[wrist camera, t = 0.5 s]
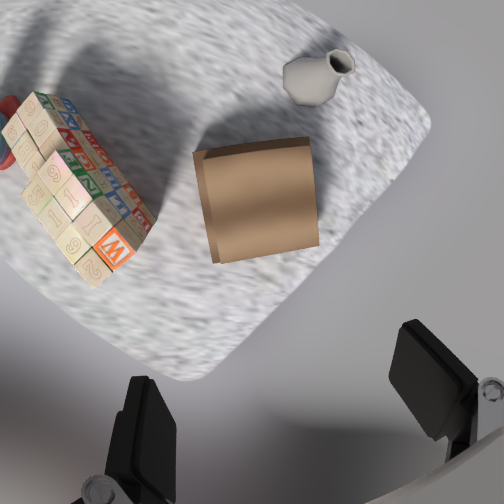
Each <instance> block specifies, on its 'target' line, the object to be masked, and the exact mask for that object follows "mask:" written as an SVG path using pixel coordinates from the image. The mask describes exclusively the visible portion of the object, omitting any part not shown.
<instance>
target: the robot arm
mask: <svg viewBox="0 0 504 504" xmlns="http://www.w3.org/2000/svg"><path fill="white" fill-rule="evenodd" d="M389 380H390V382H391V384H392V385H393V387H394V388H395V389H396V391H397V392H398V394H399V395H400V397H401V398H402V399H403V401H404V402H405V404H406V405H407V407H408V408H409V409H410V411H411V412H412V414H413V415H414V417H415V418H416V420H417V421H418V423H419V424H420V425H421V427H422V428H423V430H424V431H425V433H426V434H427V436H428V437H430V438H431V437H432V438H433V440H434V441H437V440H439V439H441V438H442V437H444V436H445V435H446V436H447V438H448V446H447V451H446V457H445V462H444V464H443V465H441V466H440V467H438V468H436V469H435V470H433V471H431V472H430V473H428V474H426V475H424V476H423V477H421V478H419V479H417V480H415V481H413V482H411V483H410V484H407V485H406V486H404V487H401V488H400V489H398V490H395V491H393V492H391V493H389V494H387V495H384V496H382V497H380V498H377V499H375V500H373V501H370V502H368V503H365V504H504V382H503V381H501V380H499V379H498V378H494V377H488V378H486V379H483V380H482V381H481V382H480V384H479V383H478V382H477V381H478V378H477V377H476V376H475V375H474V374H473V373H472V372H471V371H470V370H469V369H468V368H467V367H466V366H465V365H464V364H463V363H462V362H461V361H460V360H459V359H458V358H457V357H456V356H455V355H454V354H453V353H452V352H451V351H450V350H449V349H448V348H447V347H446V346H445V345H444V344H443V343H442V342H441V341H440V340H439V339H438V338H437V337H436V336H435V335H434V334H433V333H432V332H431V331H429V329H427V328H426V327H425V326H424V325H423V324H422V323H421V322H420V321H419V320H417V319H414V320H411V321H408V322H405V323H403V324H402V327H401V328H400V329H399V333H398V338H397V343H396V347H395V351H394V355H393V360H392V364H391V368H390V371H389ZM175 478H176V423H175V421H174V419H173V417H172V415H171V413H170V411H169V409H168V408H167V406H166V404H165V402H164V400H163V398H162V396H161V394H160V392H159V390H158V388H157V386H156V383H155V381H154V380H153V379H149V377H148V376H133V377H131V379H130V383H129V387H128V391H127V395H126V399H125V404H124V408H123V411H119V412H118V413H117V415H116V419H115V423H114V428H113V433H112V437H111V442H110V447H109V452H108V457H107V462H106V468H105V474H104V475H103V474H97V475H93V476H90V477H89V478H88V479H87V480H85V482H84V483H83V485H82V488H81V496H82V497H81V498H79V499H78V500H76V501H75V502H73V503H71V504H174V503H175V501H176V489H175V488H176V486H175V485H176V482H175V481H176V479H175Z"/></svg>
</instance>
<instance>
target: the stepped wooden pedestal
mask: <svg viewBox="0 0 504 504" xmlns="http://www.w3.org/2000/svg"><path fill="white" fill-rule="evenodd" d="M192 153H193V159H194V165H195V171H196V177H197V183H198V188H199V194H200V199H201V205H202V210H203V216H204V221H205V226H206V231H207V237H208V242H209V247H210V252H211V257H212V262H213V264H214V263H219V262H221V264H224V263H229V262H235V261H240V260H245V259H251V258H256V257H262V256H267V255H272V254H278V253H283V252H289V251H294V250H299V249H305V248H310V247H315V246H319V233H318V218H317V206H316V194H315V183H314V173H313V164H312V155H311V146H310V143H309V137H298V138H287V139H278V140H269V141H260V142H252V143H245V144H238V145H231V146H225V147H219V148H213V149H207V150H201V151H196V152H192Z"/></svg>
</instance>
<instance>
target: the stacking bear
mask: <svg viewBox="0 0 504 504" xmlns="http://www.w3.org/2000/svg"><path fill="white" fill-rule="evenodd" d="M19 107H20V104H19V101H18V100H17V98H16V97H15V96H6V97H5V98H4V99H3V100H2V101H1V102H0V170H4V169H7V168H9V167H10V166H11V165H12V164H13V163H14V162H15V160H16V158H15V156H14V155H13V153H12V151H11V150H12V149H11V148H10V147H9V145H8V144H7V142H6V140H5V138H4V136H3V135H2V130H3V129H4V127H5V126H6V125H7V123H8V122H9V120H10V119H11V118H12V116H13V115H14V114H15V113H16V111H17V109H18V108H19Z"/></svg>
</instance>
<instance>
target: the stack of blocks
mask: <svg viewBox="0 0 504 504" xmlns="http://www.w3.org/2000/svg"><path fill="white" fill-rule="evenodd" d="M2 135H3V136H4V138H5V140H6V142H7V144H8V145H9V147H10V148H11V149H12V150H11V151H12V153H13V155H14V156H15V158H16V160H17V161H18V163H19V165H20V166H21V168H22V169H23V171H24V173H25V174H26V176H27V178H28V179H29V180H30V183H29V185H28V186H27V187H26V188H25V190H24V191H23V192H22V194H21V196H22V198H23V199H24V201H25V202H26V204H27V205H28V206H29V208H30V209H31V211H32V212H33V214H34V215H35V216H36V217H37V218H38V220H39V221H40V223H41V224H42V225H43V227H44V228H45V229H46V230H47V232H48V233H49V235H50V236H51V237H52V238H53V239H54V240H55V243H56V244H57V246H58V247H59V248H60V250H61V251H62V252H63V253H64V255H65V256H66V257H67V258H68V259H69V261H70V262H71V263H72V264H73V265H74V267H75V269H76V270H77V271H78V272H79V273H80V275H81V276H82V277H83V278H84V279H85V280H86V282H87V283H88V284H89V285H90V286H91V287H92V288H93V289H94V288H95V287H97V286H98V285H99V284H100V283H101V282H102V281H103V280H105V279H106V278H107V277H108V276H109V275H111V274H112V273H113V271H115V270H116V269H117V268H118V267H120V266H121V265H122V264H123V263H124V262H126V261H127V260H128V259H129V258H130V257H131V256H133V255H134V254H135V253H136V252H137V250H138V248H139V247H140V245H141V244H142V243H143V242H144V240H145V238H146V237H147V235H148V233H149V231H150V230H151V228H152V226H153V225H154V224H155V222H156V221H157V220H156V219H155V217H154V216H153V215H152V214H151V212H150V211H149V210H148V208H147V207H146V206H145V205H144V203H143V201H142V200H141V198H140V197H139V196H138V194H137V193H136V192H135V190H134V189H133V188H132V186H131V185H130V184H129V183H128V181H127V180H126V178H125V177H124V176H123V174H122V173H121V172H120V170H119V169H118V167H117V166H115V165H114V164H113V162H112V161H111V160H110V158H109V157H108V155H107V154H106V153H105V151H104V150H103V149H102V148H101V146H100V145H99V144H98V142H97V141H96V139H95V138H94V136H93V135H92V134H91V132H90V129H89V128H88V127H87V125H86V124H85V122H84V121H83V119H82V118H81V116H80V115H79V114H78V112H77V111H76V109H75V108H74V106H73V105H72V103H71V102H70V101H69V100H68V99H64V98H61V97H58V96H55V95H51V94H43V93H39V92H35V91H33V92H32V93H31V94H30V95H29V96H28V97H27V99H26V100H25V101H24V102H23V103H22V105H21V106H20V107H19V108H18V109H17V111H16V113H15V114H14V115H13V116H12V118H11V119H10V120H9V122H8V123H7V125H6V126H5V127H4V129H3V130H2Z"/></svg>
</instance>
